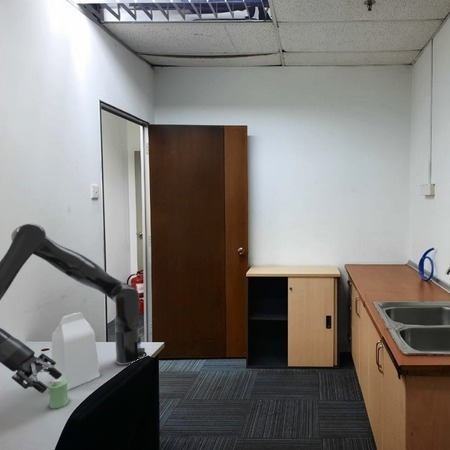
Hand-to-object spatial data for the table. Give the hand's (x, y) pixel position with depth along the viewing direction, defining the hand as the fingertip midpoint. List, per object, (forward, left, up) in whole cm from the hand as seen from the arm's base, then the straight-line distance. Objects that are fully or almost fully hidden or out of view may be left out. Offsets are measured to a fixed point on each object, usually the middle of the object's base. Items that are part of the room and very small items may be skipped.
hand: (52, 383), depth 114 cm
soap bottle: (-2, 0, -7) cm, 8 cm away
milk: (-1, -17, -8) cm, 18 cm away
